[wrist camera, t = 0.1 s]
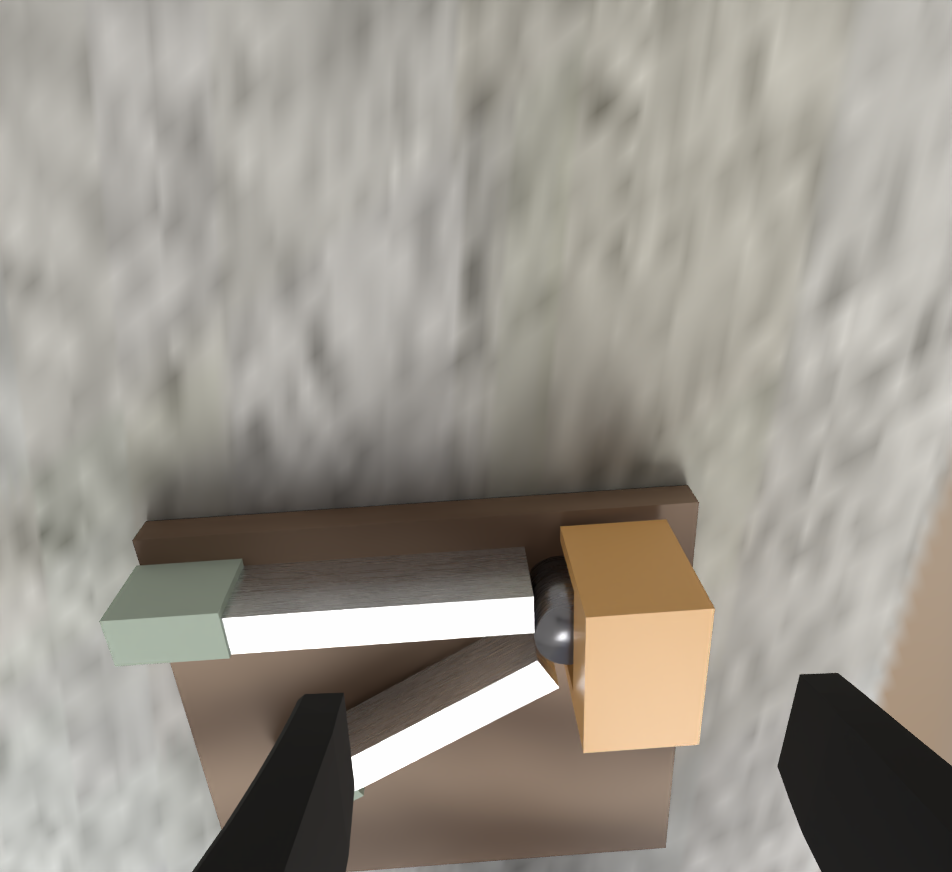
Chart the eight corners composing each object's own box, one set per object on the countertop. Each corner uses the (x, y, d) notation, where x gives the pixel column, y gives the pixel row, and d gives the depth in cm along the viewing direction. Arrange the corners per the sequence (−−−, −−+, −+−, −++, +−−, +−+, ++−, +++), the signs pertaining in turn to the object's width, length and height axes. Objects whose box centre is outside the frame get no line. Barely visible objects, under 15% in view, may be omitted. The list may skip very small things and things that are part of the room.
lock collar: (657, 640, 22) (699, 744, 18) (560, 648, 22) (583, 753, 18) (666, 519, 20) (714, 608, 16) (560, 526, 20) (585, 617, 16)
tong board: (658, 823, 27) (685, 914, 24) (241, 854, 27) (215, 950, 24) (687, 485, 21) (730, 550, 18) (142, 521, 21) (90, 594, 18)
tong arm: (554, 645, 22) (564, 694, 20) (297, 779, 24) (285, 835, 22) (529, 612, 21) (537, 660, 19) (268, 753, 23) (253, 808, 21)
